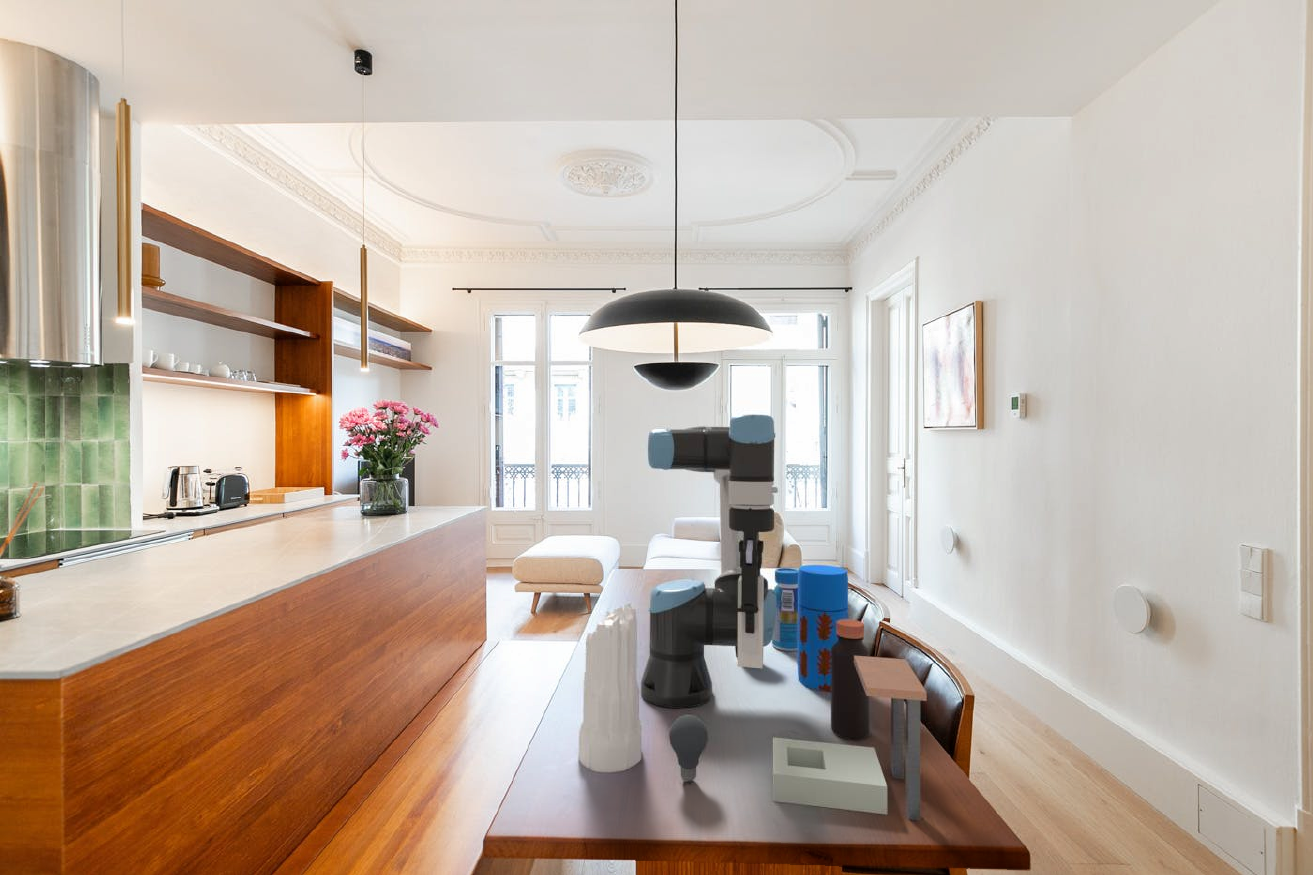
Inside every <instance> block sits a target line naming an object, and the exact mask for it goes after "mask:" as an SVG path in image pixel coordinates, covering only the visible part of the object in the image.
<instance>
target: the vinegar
mask: <svg viewBox="0 0 1313 875" xmlns="http://www.w3.org/2000/svg"><path fill="white" fill-rule="evenodd" d="M836 634H837V637H838V641H837V642H836V643H835V644H834V645H833V646H832V647H831V691H830V729H831V731H832V732H833V734H835V735H837V736H839V737H841V738H842V739H847V740H853V741H855V740H857V741H858V740H863V739H866V738H868V737H869V735H870V696H866V693H865V690H864V688H863V685H862V683H861V680H860V677H859V675H858V672H857V670H856V667H855V665H854V656H866V657H871V656H870V651H869V648H867V647H866V645H864V643H863V640H865V638H864V637H865V623H864V622H862V621H859V620H857V619H850V618H848V619H840V620H838V621H837V622H836Z"/></svg>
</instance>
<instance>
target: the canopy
mask: <svg viewBox="0 0 1313 875" xmlns="http://www.w3.org/2000/svg"><path fill="white" fill-rule="evenodd" d="M854 665H855V667H856V670H857V672H858V675H859V677H860V680H861V683H862V685H863V688H864V690H865V693H866V696H869V697H875V698H878V697H879V698H886V699H887V698H889V699H890V774H891V777H892V779H894V780H905V815H906V816H907V820H911V821H918V822H919V821H920V822H921V701H924V702H927V701H928V700H927V698H928V696H927V693H928V692H927V690H926V689H925V687H924V685H923V684H922V683H921V681H920V680H919V678H918V676H917V675H916V674H915V672H914V671H913V669H912V667H911V665H910V664H909V662H908V660H906V659H905V658H904V659H903V658H894V657H893V658H891V657H880V656H879V657H878V656H870V657H866V656H854ZM904 736H905V737H904ZM904 740H905V741H904ZM904 744H905V745H904ZM904 751H905V752H904ZM904 753H905V754H904ZM904 757H905V758H904ZM904 769H905V770H904ZM904 772H905V773H904ZM904 776H905V777H904Z"/></svg>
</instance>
